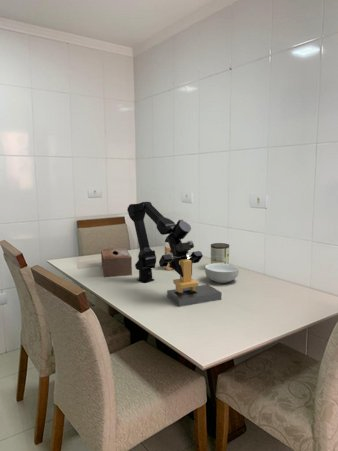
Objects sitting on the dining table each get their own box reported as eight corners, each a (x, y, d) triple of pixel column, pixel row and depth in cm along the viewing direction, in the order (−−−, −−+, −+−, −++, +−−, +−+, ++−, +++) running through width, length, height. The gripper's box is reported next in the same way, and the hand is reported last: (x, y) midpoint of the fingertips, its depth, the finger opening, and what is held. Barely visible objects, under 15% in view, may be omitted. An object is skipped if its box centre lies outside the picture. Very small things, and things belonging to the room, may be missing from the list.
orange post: (173, 288, 152) (173, 259, 150) (189, 286, 156) (189, 257, 154) (181, 294, 145) (181, 263, 143) (198, 291, 148) (198, 261, 146)
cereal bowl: (238, 286, 167) (238, 272, 166) (203, 284, 171) (203, 270, 170) (238, 276, 184) (239, 263, 183) (206, 275, 187) (206, 262, 186)
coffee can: (210, 266, 203) (210, 242, 201) (228, 267, 202) (228, 243, 200) (210, 271, 193) (210, 246, 191) (229, 272, 192) (230, 246, 190)
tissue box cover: (131, 275, 188) (131, 257, 186) (104, 277, 184) (103, 259, 183) (126, 263, 213) (125, 247, 211) (101, 265, 209) (101, 248, 208)
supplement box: (166, 270, 196) (166, 247, 194) (164, 268, 201) (164, 245, 199) (180, 269, 198) (180, 246, 196) (178, 267, 203) (178, 244, 201)
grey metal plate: (167, 297, 154) (167, 290, 154) (207, 290, 162) (207, 284, 161) (179, 306, 143) (178, 299, 143) (221, 299, 151) (221, 292, 151)
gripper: (161, 236, 147) (172, 268, 138) (200, 233, 154) (213, 263, 146) (154, 251, 155) (164, 282, 147) (192, 247, 163) (204, 276, 154)
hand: (187, 276), depth 148 cm, fingers closed on orange post, 4 cm apart
